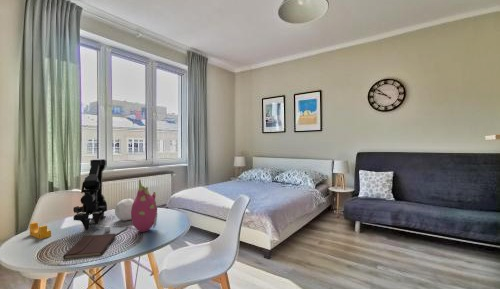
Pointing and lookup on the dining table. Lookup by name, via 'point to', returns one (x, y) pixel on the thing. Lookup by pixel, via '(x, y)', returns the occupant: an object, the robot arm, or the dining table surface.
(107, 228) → the gray square plate
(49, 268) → the dining table surface
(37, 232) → the pipe clamp
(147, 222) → the pink dragon fruit
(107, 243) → the notebook
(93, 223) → the ring
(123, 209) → the geodesic sphere
